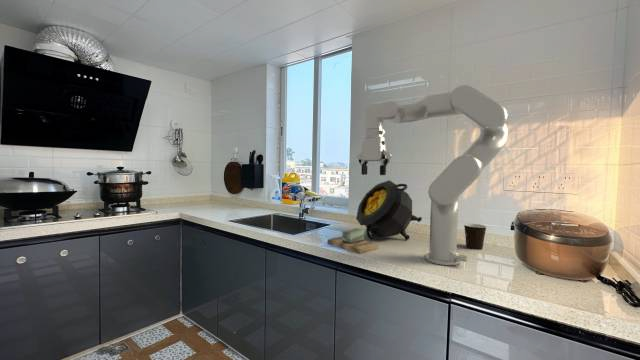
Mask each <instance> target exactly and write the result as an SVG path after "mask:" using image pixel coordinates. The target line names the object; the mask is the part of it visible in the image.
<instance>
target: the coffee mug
mask: <svg viewBox="0 0 640 360" xmlns="http://www.w3.org/2000/svg"><path fill="white" fill-rule="evenodd" d="M486 232H487V225H484V224H480V223H464V237H465V245H466V248H467V249H469V250H475V251H478V250H480V251H482V250H483V247H484V244H485V243H484V242H485V237H486Z"/></svg>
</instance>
